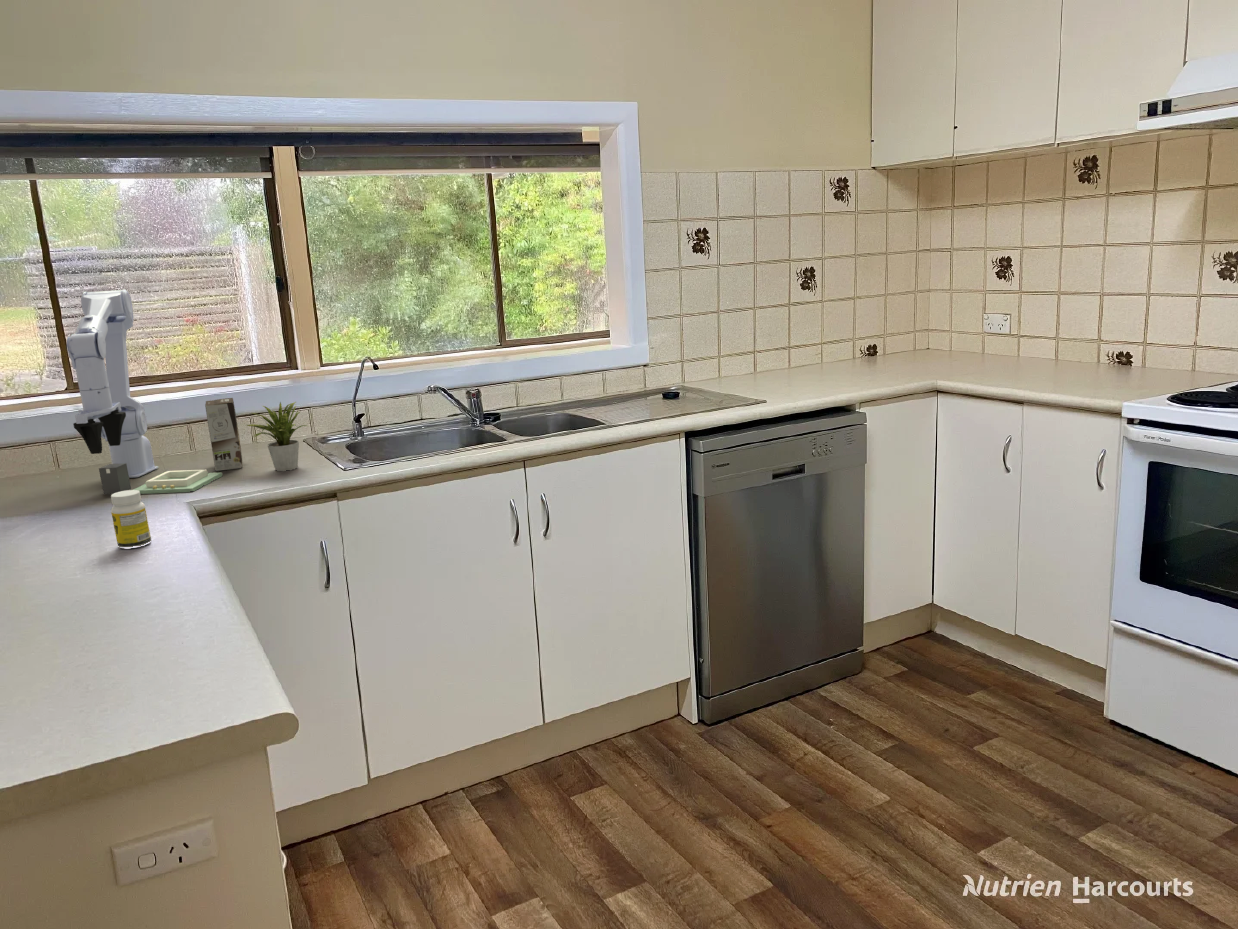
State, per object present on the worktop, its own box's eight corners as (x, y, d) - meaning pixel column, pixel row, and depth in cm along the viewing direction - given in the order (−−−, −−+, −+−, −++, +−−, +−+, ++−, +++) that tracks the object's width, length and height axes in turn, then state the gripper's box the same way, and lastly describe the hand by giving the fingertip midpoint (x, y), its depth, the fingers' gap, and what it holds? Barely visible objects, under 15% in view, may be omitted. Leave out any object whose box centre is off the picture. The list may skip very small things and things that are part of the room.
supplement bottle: (120, 543, 172) (110, 491, 169) (153, 538, 174) (144, 487, 171) (116, 552, 167) (105, 499, 164) (150, 547, 169) (140, 494, 166)
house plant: (272, 461, 233) (262, 395, 229) (326, 459, 231) (317, 393, 227) (244, 475, 219) (234, 406, 215) (302, 474, 217) (292, 404, 214)
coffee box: (243, 468, 227) (233, 402, 223) (214, 471, 225) (204, 405, 221) (243, 460, 235) (233, 396, 231) (215, 464, 233) (205, 399, 229)
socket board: (164, 478, 221) (163, 469, 220) (222, 475, 220) (221, 466, 220) (131, 494, 207) (129, 484, 207) (193, 491, 207) (191, 482, 206)
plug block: (114, 489, 213) (109, 463, 211) (131, 489, 213) (126, 463, 211) (103, 494, 209) (98, 468, 207) (121, 493, 209) (116, 467, 207)
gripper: (94, 384, 212) (105, 442, 215) (56, 395, 198) (69, 457, 201) (125, 382, 211) (136, 441, 215) (89, 393, 197) (101, 456, 201)
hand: (105, 449), depth 208 cm, fingers open, 7 cm apart
